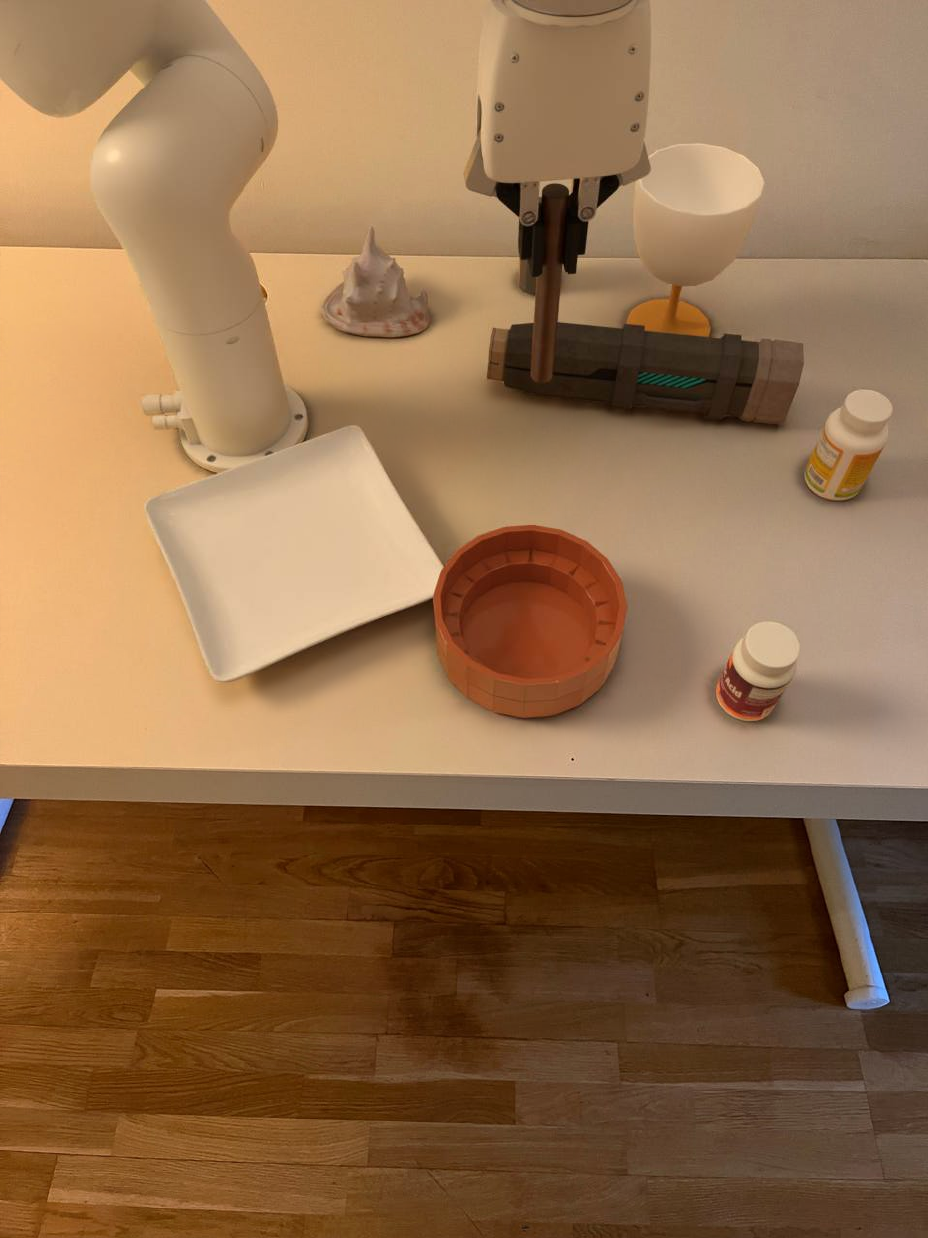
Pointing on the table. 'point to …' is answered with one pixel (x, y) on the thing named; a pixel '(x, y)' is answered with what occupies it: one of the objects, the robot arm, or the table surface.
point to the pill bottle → (758, 671)
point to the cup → (691, 226)
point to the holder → (527, 274)
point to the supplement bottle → (849, 445)
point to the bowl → (528, 620)
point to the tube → (656, 370)
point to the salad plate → (291, 551)
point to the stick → (549, 281)
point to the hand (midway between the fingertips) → (550, 261)
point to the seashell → (375, 297)
